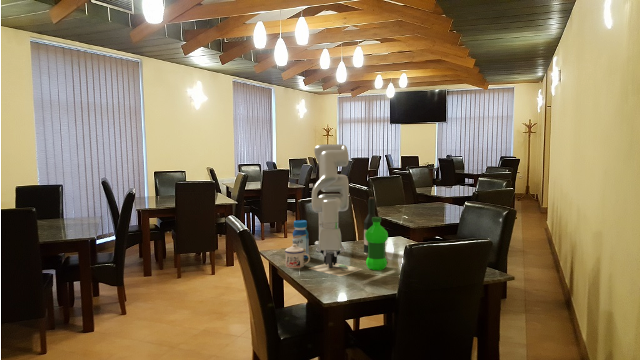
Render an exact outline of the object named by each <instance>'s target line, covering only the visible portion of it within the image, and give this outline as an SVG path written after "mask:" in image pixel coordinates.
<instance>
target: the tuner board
mask: <svg viewBox="0 0 640 360" xmlns="http://www.w3.org/2000/svg"><path fill="white" fill-rule="evenodd" d="M333 266H336V267H346V268H348V269H344V268H334V267H333V268H329V264H327V265H325V263H322V264H319V265H315V266H312V267H308V268H307V269H309V270H313V271H317V272H320V273H325V274H329V275H333V276H337V277H343V276H347V275H350V274H353V273H355V272H358V271H363V268H361V267H356V266H355V267H354V266H351V265H347V264H343V263H342V264H341V263H338V262H337V263H336V264H335V265H333Z"/></svg>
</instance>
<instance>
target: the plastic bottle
mask: <svg viewBox="0 0 640 360" xmlns="http://www.w3.org/2000/svg"><path fill="white" fill-rule="evenodd" d="M372 222H373V225H372V226H371V227H370V228H369V229H368V230H367V231H366V233H365V238H366V240H367V241H368V253H367V258H366V260H365V264H366V267H367V268H368V269H369V270H373V271H382V270H385V268H386V267H387V266H388V260H387V258H386V242H387V241H388V239H389V234H388V230H386V229H385V227H384V226H382V225H381V222H382V217H381V216H376V217H372Z"/></svg>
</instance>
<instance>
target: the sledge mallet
mask: <svg viewBox="0 0 640 360" xmlns="http://www.w3.org/2000/svg"><path fill="white" fill-rule="evenodd" d="M333 257H334V252H332V251H330V252H329V253H327V254H326V264H329V268H333V267H334V268H344V269H348V268H346V267H336V266H333Z"/></svg>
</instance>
